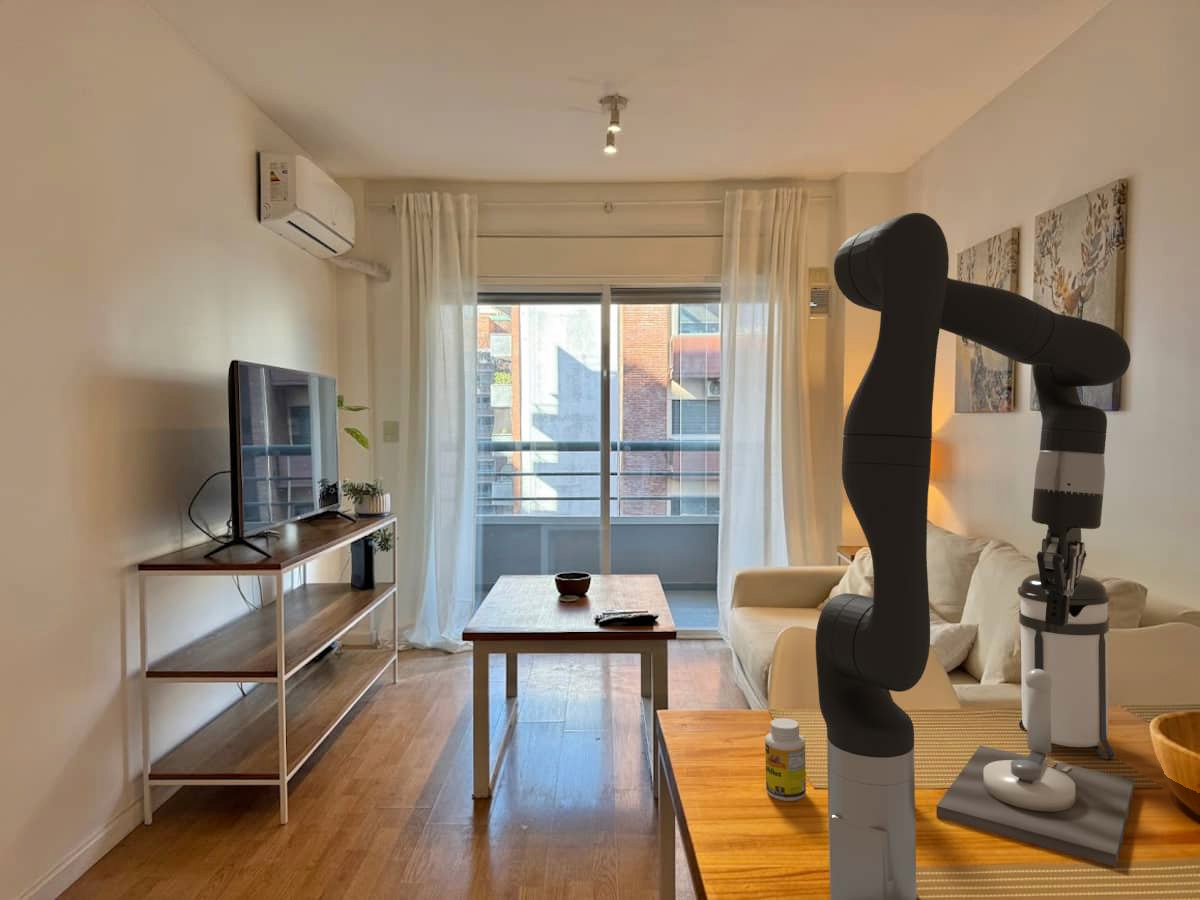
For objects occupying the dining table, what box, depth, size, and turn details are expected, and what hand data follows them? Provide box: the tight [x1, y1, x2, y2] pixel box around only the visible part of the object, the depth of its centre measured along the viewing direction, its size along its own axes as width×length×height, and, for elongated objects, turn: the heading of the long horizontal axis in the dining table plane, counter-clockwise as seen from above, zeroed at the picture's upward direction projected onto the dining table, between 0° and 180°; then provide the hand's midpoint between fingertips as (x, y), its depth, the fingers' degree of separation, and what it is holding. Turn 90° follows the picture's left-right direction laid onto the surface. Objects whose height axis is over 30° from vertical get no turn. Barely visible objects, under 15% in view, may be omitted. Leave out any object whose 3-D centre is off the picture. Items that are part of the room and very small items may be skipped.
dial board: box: [935, 745, 1135, 868], centre depth 106 cm, size 24×20×2 cm
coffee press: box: [1017, 572, 1115, 761], centre depth 126 cm, size 17×16×30 cm
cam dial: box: [983, 669, 1075, 812], centre depth 107 cm, size 16×11×15 cm
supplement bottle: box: [764, 717, 807, 802], centre depth 110 cm, size 6×6×10 cm
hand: (1056, 624), depth 98 cm, fingers closed
